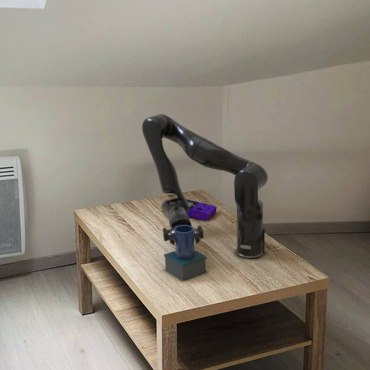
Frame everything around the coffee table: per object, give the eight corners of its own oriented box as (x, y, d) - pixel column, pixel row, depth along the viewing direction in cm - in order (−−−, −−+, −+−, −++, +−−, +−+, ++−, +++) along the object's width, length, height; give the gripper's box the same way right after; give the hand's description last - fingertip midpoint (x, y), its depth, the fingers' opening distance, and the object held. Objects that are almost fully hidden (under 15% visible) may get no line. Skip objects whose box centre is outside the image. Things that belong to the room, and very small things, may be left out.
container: (188, 261, 249) (188, 246, 247) (206, 272, 241) (206, 256, 239) (164, 270, 244) (163, 254, 242) (182, 281, 236) (182, 265, 234)
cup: (186, 249, 245) (186, 223, 242) (198, 256, 240) (197, 229, 236) (171, 254, 242) (170, 228, 238) (182, 261, 236) (182, 234, 233)
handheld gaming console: (209, 213, 283) (175, 204, 289) (208, 224, 285) (174, 216, 291) (217, 205, 291) (184, 197, 297) (215, 216, 293) (183, 208, 299)
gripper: (159, 215, 250) (164, 233, 235) (199, 212, 251) (206, 230, 236) (160, 234, 253) (164, 253, 237) (199, 231, 254) (206, 250, 238)
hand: (185, 241), depth 237 cm, fingers open, 7 cm apart
